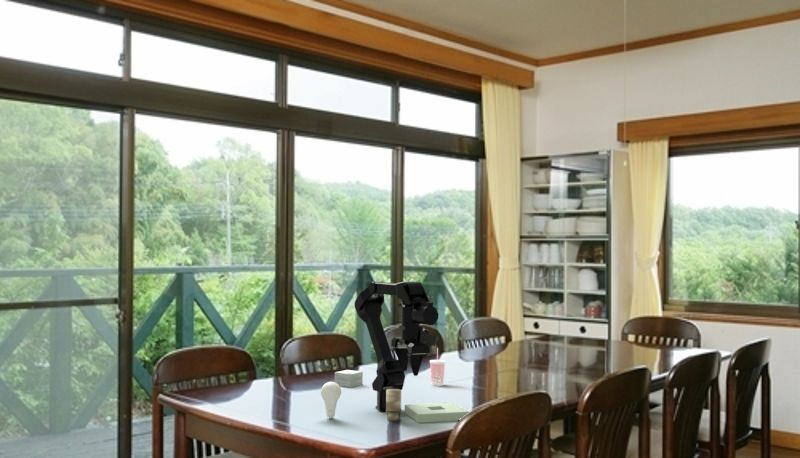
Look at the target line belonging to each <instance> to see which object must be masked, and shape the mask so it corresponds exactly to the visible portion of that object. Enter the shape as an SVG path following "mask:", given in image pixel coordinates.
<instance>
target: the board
mask: <svg viewBox="0 0 800 458" xmlns="http://www.w3.org/2000/svg"><path fill="white" fill-rule="evenodd" d="M467 413H469V410H467V409H465V408H463V407H461V406H460V405H458V404H456V403H455V402H451V401H450V402H433V403H432V402H431V403H418V404H417V403H416V404H415V403H413V404H405V405H404V414H406V416H408V417H410V418H411V419H413V420H414V421H415V422H416V423H418V424H422V423H437V422H441V423H442V422H455V421H458V420H459V419H460V418H462V417H463V416H464V415H466V414H467ZM469 414H470V413H469ZM459 421H460V420H459Z"/></svg>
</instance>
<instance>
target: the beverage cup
mask: <svg viewBox="0 0 800 458" xmlns="http://www.w3.org/2000/svg"><path fill="white" fill-rule="evenodd" d="M429 365H430V367H429V368H430V383H431V386H435V385H436V386H438V387H439V386H440V387H441V386H444V378H445V366H446V360H444V359H439V347H436V359H430V360H429Z"/></svg>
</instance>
